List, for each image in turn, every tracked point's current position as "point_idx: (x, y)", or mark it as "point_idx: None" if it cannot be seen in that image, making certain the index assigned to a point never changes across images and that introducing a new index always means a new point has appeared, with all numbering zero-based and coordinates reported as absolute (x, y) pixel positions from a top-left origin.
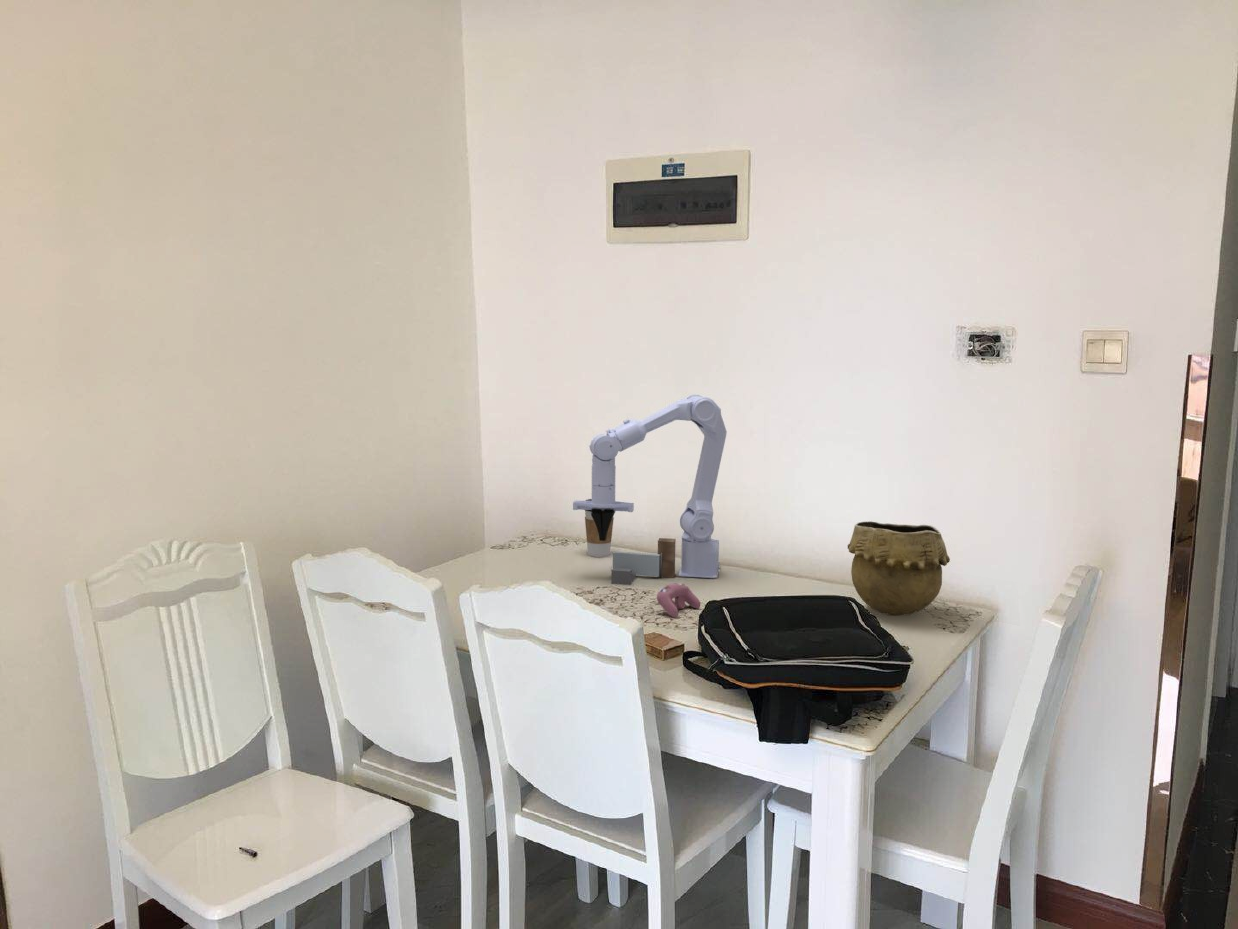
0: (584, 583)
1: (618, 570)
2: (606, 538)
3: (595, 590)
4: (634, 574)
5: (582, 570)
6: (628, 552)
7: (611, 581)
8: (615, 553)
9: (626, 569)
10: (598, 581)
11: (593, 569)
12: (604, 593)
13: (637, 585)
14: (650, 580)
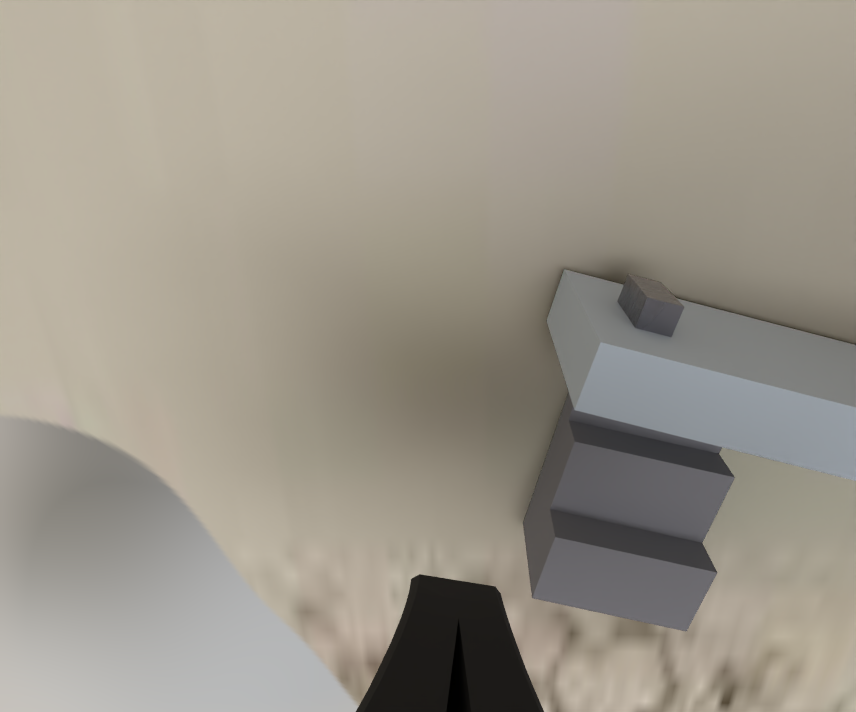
0: (331, 517)
1: (591, 606)
2: (500, 602)
3: None
4: None
5: (264, 139)
6: (776, 409)
7: (525, 534)
8: (606, 411)
9: (665, 581)
10: (428, 471)
11: (364, 93)
12: None
13: None
14: None
